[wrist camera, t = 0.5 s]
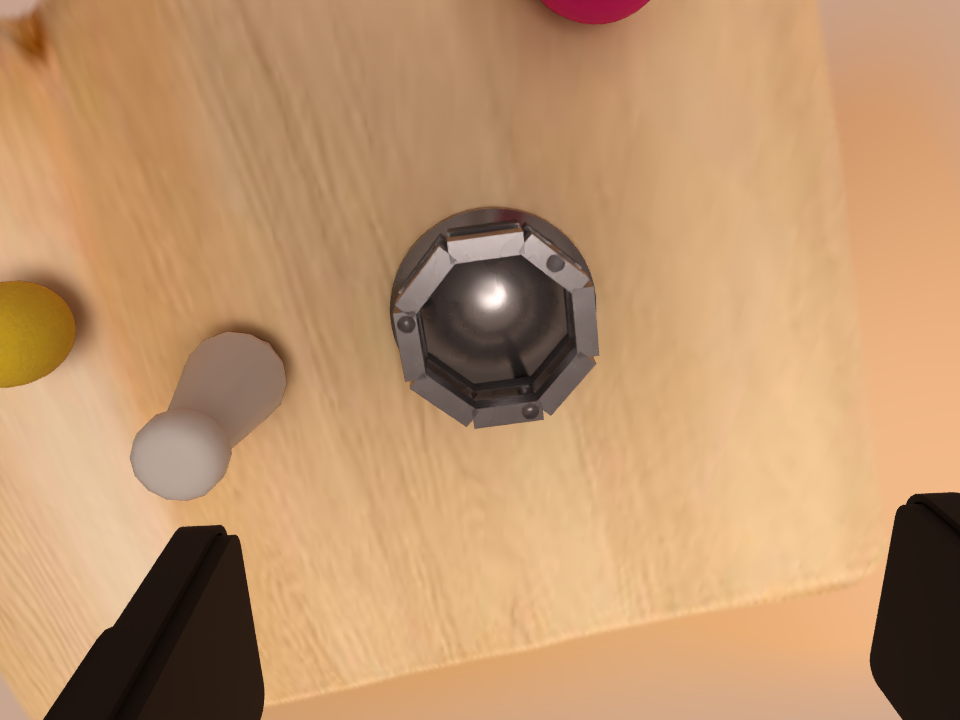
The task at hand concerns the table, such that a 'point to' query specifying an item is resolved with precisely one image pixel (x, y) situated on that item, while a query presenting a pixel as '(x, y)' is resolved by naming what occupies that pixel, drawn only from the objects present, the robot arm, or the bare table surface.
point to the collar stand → (494, 317)
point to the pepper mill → (595, 9)
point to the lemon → (32, 332)
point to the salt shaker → (208, 415)
